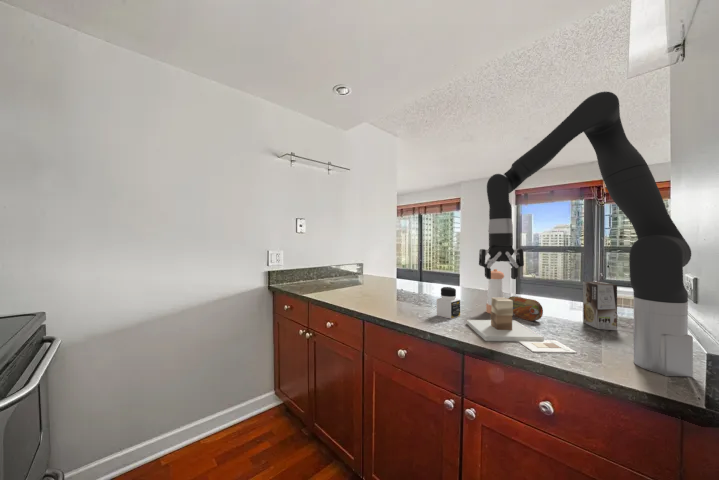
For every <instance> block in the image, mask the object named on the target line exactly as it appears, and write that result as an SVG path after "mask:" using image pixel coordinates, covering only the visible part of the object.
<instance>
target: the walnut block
mask: <svg viewBox="0 0 719 480" xmlns="http://www.w3.org/2000/svg"><path fill="white" fill-rule="evenodd" d="M490 320H491V326H493V327H494V328H495V329H497V330H512V320H513V316H511V315H496V314H495V313H493V312H492V311H491V314H490Z"/></svg>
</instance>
